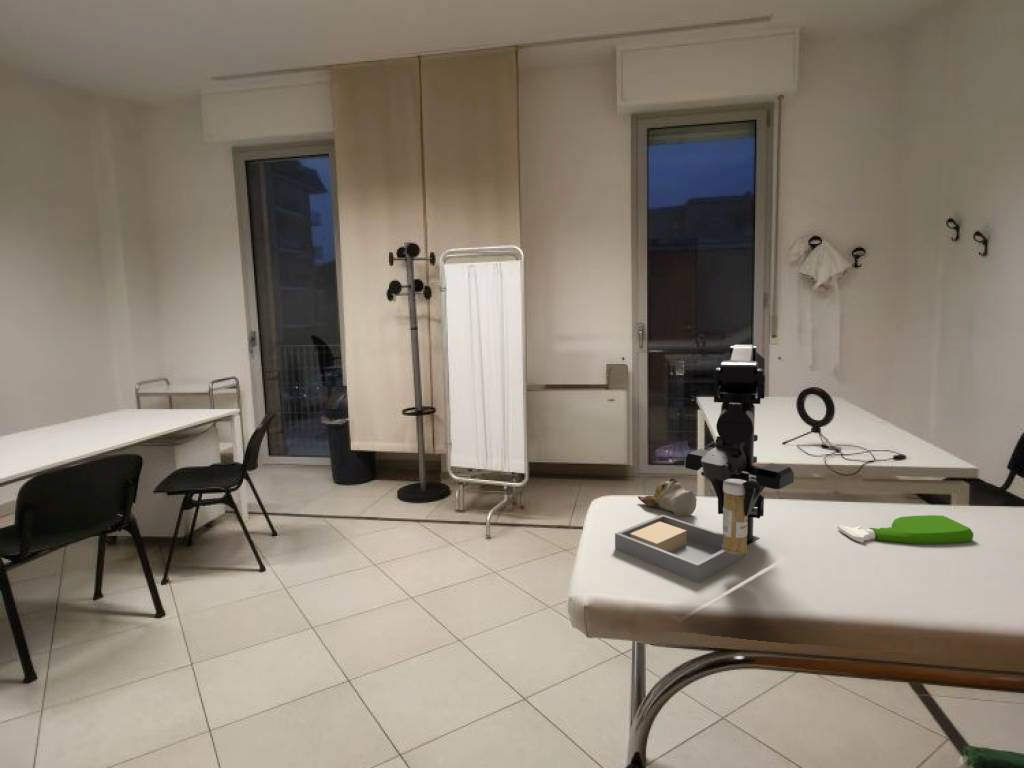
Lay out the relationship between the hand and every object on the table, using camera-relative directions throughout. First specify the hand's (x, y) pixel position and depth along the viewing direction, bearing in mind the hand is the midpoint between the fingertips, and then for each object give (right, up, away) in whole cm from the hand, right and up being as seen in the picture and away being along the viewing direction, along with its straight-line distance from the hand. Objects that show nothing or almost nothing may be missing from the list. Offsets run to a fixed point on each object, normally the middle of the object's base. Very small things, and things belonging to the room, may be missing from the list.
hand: (735, 512), depth 108 cm
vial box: (-11, -10, +15) cm, 21 cm away
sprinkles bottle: (0, -8, +1) cm, 8 cm away
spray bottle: (+43, -10, +18) cm, 48 cm away
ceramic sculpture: (-2, -8, +37) cm, 38 cm away
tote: (-7, -12, +11) cm, 18 cm away
